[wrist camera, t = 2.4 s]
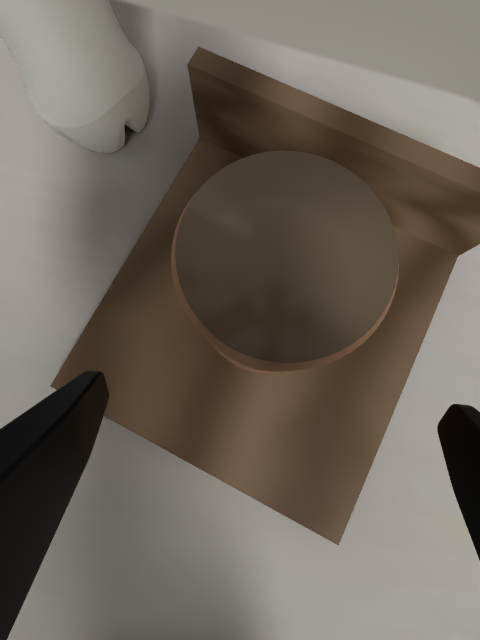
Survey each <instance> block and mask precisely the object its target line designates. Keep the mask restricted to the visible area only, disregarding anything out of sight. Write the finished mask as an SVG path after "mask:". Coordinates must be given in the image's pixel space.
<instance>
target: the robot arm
mask: <svg viewBox="0 0 480 640" xmlns="http://www.w3.org/2000/svg"><path fill="white" fill-rule="evenodd" d="M108 400H109V391H108V387H107V383H106V379H105V376H104V374H103V372H101V371H91V370H87V371H84V372H83V373H81V374H80V375H78V376H77V377H75V378H74V379H73V380H71V381H70V382H68V383H67V384H65V385H64V386H62V387H61V388H59V389H58V390H57V391H55V392H54V393H52V394H51V395H49V396H48V397H46V398H45V399H43V400H42V401H41V402H39V403H38V404H36V405H35V406H33V407H32V408H30V409H29V410H27V411H26V412H25V413H23V414H22V415H20V416H19V417H17V418H16V419H14V420H13V421H11V422H10V423H9V424H7V425H6V426H4V427H3V428H1V429H0V640H7V638H8V636H9V634H10V631H11V629H12V627H13V625H14V623H15V620H16V618H17V616H18V614H19V612H20V609H21V607H22V605H23V603H24V601H25V598H26V596H27V594H28V592H29V590H30V587H31V585H32V583H33V581H34V579H35V576H36V574H37V572H38V570H39V568H40V565H41V563H42V561H43V559H44V557H45V554H46V552H47V550H48V548H49V546H50V543H51V541H52V539H53V537H54V535H55V532H56V530H57V528H58V526H59V524H60V521H61V519H62V517H63V515H64V513H65V510H66V508H67V506H68V504H69V502H70V499H71V497H72V495H73V493H74V491H75V488H76V486H77V484H78V482H79V480H80V477H81V475H82V473H83V471H84V469H85V466H86V464H87V462H88V459H89V457H90V454H91V452H92V449H93V446H94V443H95V440H96V437H97V434H98V431H99V428H100V425H101V422H102V419H103V416H104V413H105V410H106V407H107V404H108ZM438 435H439V439H440V443H441V446H442V450H443V454H444V458H445V461H446V465H447V469H448V472H449V476H450V480H451V483H452V487H453V490H454V493H455V496H456V499H457V502H458V504H459V507H460V510H461V512H462V515H463V518H464V520H465V523H466V525H467V528H468V531H469V533H470V536H471V539H472V541H473V544H474V547H475V549H476V552H477V555H478V557H479V560H480V412H479V411H478V410H476V409H475V408H474V407H472V406H469V405H461V404H453V405H451V406H450V407H449V409H448V410H447V411H446V413H445V414H444V416H443V417H442V419H441V420H440V422H439V424H438Z"/></svg>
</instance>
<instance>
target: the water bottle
mask: <svg viewBox="0 0 480 640" xmlns="http://www.w3.org/2000/svg"><path fill="white" fill-rule="evenodd" d="M0 36H1V38H2V39H3V41H4V42H5V44H6V46H7V48H8V50H9V52H10V54H11V55H12V57H13V59H14V61H15V63H16V65H17V68H18V70H19V73H20V75H21V78H22V81H23V84H24V87H25V90H26V94H27V96H28V99H29V101H30V102H31V104H32V106H33V108H34V109H35V111H36V112H37V113H38V114H39V116H40V117H41V118H42V119H43V120H44V121H45V122H46V123H47V124H48V125H49V126H50V127H51V128H52V129H53V130H54V131H55V132H56V133H57V134H59V135H61V136H63V137H64V138H66V139H68V140H70V141H73V142H76V143H78V144H79V145H81V146H83V147H85V148H87V149H89V150H92V151H96V152H99V153H111V152H116V151H117V150H119V149H120V148H122V147H123V146H124V142H125V129H124V126H125V125H126V126H128V127H129V128H130V129H132V130H134V131H137V132H138V133H140V132H141V131H142V130H143V128H144V127H145V124H146V121H147V117H148V113H149V98H150V96H149V86H148V79H147V75H146V71H145V67H144V64H143V61H142V58H141V56H140V55H139V53H138V52H137V50H136V49H135V48H134V47H133V46H132V45H131V43H130V42H129V40H128V39H127V37H126V36H125V35H124V33H123V31H122V29H121V27H120V25H119V23H118V21H117V19H116V16H115V14H114V11H113V9H112V6H111V3H110V1H109V0H0Z"/></svg>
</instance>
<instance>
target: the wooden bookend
mask: <svg viewBox="0 0 480 640" xmlns="http://www.w3.org/2000/svg"><path fill="white" fill-rule="evenodd" d="M187 65H188V71H189V77H190V83H191V89H192V95H193V100H194V106H195V112H196V118H197V124H198V130H199V136H200V139H199V140H198V142H197V144H196V145H195V147H194V149H193V150H192V152H191V154H190V155H189V157H188V159H187V160H186V162H185V164H184V165H183V167H182V169H181V170H180V172H179V173H178V175H177V177H176V178H175V180H174V182H173V183H172V185H171V187H170V188H169V190H168V192H167V193H166V195H165V197H164V198H163V200H162V202H161V203H160V205H159V207H158V208H157V210H156V212H155V213H154V215H153V217H152V218H151V220H150V222H149V223H148V225H147V227H146V228H145V230H144V232H143V233H142V235H141V237H140V238H139V240H138V241H137V243H136V245H135V246H134V248H133V250H132V251H131V253H130V255H129V256H128V258H127V260H126V261H125V263H124V265H123V266H122V268H121V270H120V271H119V273H118V275H117V276H116V278H115V280H114V281H113V283H112V285H111V286H110V288H109V290H108V291H107V293H106V295H105V296H104V298H103V300H102V301H101V303H100V305H99V306H98V308H97V310H96V311H95V313H94V314H93V316H92V318H91V319H90V321H89V323H88V324H87V326H86V328H85V329H84V331H83V333H82V334H81V336H80V338H79V339H78V341H77V343H76V344H75V346H74V348H73V349H72V351H71V353H70V354H69V356H68V358H67V359H66V361H65V363H64V364H63V366H62V368H61V369H60V371H59V373H58V374H57V376H56V378H55V379H54V381H53V382H52V384H51V387H53V388H55V389H56V390H58V389H59V388H61V387H62V386H64V385H65V384H67V383H68V382H70V381H71V380H73V379H74V378H75V377H77V376H78V375H80V374H81V373H83V372H84V371H87V370H91V371H101V372H103V374H104V376H105V379H106V383H107V387H108V391H109V400H108V404H107V407H106V410H105V413H104V416H105V417H107V418H109V419H111V420H112V421H114V422H116V423H118V424H120V425H122V426H123V427H125V428H127V429H129V430H131V431H132V432H134V433H136V434H138V435H140V436H141V437H143V438H145V439H147V440H149V441H150V442H152V443H154V444H156V445H158V446H160V447H161V448H163V449H165V450H167V451H169V452H170V453H172V454H174V455H176V456H178V457H179V458H181V459H183V460H185V461H187V462H189V463H190V464H192V465H194V466H196V467H198V468H199V469H201V470H203V471H205V472H207V473H208V474H210V475H212V476H214V477H216V478H217V479H219V480H221V481H223V482H225V483H227V484H228V485H230V486H232V487H234V488H236V489H237V490H239V491H241V492H243V493H245V494H246V495H248V496H250V497H252V498H254V499H256V500H257V501H259V502H261V503H263V504H265V505H266V506H268V507H270V508H272V509H274V510H275V511H277V512H279V513H281V514H283V515H284V516H286V517H288V518H290V519H292V520H294V521H295V522H297V523H299V524H301V525H303V526H304V527H306V528H308V529H310V530H312V531H313V532H315V533H317V534H319V535H321V536H323V537H324V538H326V539H328V540H330V541H332V542H333V543H335V544H337V545H339V543H340V540H341V538H342V536H343V533H344V531H345V528H346V526H347V523H348V521H349V519H350V516H351V514H352V511H353V509H354V507H355V504H356V502H357V499H358V497H359V494H360V492H361V490H362V487H363V485H364V482H365V480H366V477H367V475H368V473H369V470H370V468H371V465H372V463H373V461H374V458H375V456H376V453H377V451H378V448H379V446H380V444H381V441H382V439H383V436H384V434H385V431H386V429H387V427H388V424H389V422H390V419H391V417H392V414H393V412H394V410H395V407H396V405H397V402H398V400H399V398H400V395H401V393H402V390H403V388H404V385H405V383H406V381H407V378H408V376H409V373H410V371H411V368H412V366H413V364H414V361H415V359H416V356H417V354H418V352H419V349H420V347H421V344H422V342H423V339H424V337H425V335H426V332H427V330H428V327H429V325H430V322H431V320H432V318H433V315H434V313H435V310H436V308H437V306H438V303H439V301H440V298H441V296H442V293H443V291H444V289H445V286H446V284H447V281H448V279H449V276H450V274H451V272H452V269H453V267H454V264H455V262H456V260H457V257H458V256H459V255H461V254H462V253H464V252H466V251H468V250H470V249H472V248H473V247H475V246H477V245H479V244H480V168H479V167H476V166H474V165H472V164H469V163H467V162H465V161H463V160H460V159H458V158H456V157H453V156H451V155H449V154H446V153H444V152H442V151H439V150H437V149H435V148H432V147H430V146H428V145H425V144H423V143H421V142H418V141H416V140H414V139H412V138H409V137H407V136H405V135H402V134H400V133H398V132H395V131H393V130H391V129H388V128H386V127H384V126H381V125H379V124H377V123H374V122H372V121H370V120H367V119H365V118H363V117H360V116H358V115H356V114H354V113H351V112H349V111H347V110H344V109H342V108H340V107H337V106H335V105H333V104H330V103H328V102H326V101H323V100H321V99H319V98H316V97H314V96H312V95H309V94H307V93H305V92H303V91H300V90H298V89H296V88H293V87H291V86H289V85H286V84H284V83H282V82H279V81H277V80H275V79H272V78H270V77H268V76H265V75H263V74H261V73H258V72H256V71H254V70H251V69H249V68H247V67H245V66H242V65H240V64H238V63H235V62H233V61H231V60H228V59H226V58H224V57H221V56H219V55H217V54H214V53H212V52H210V51H207V50H205V49H203V48H200V47H198V49H197V50H196V52H195V53H194V55H193V56H192V58H191V60H190V61H189V63H188V64H187ZM271 151H297V152H305V153H310V154H314V155H318V156H321V157H324V158H326V159H329V160H332V161H334V162H336V163H338V164H340V165H341V166H343V167H345V168H347V169H348V170H350V171H351V172H353V173H354V174H355V175H357V176H358V177H359V178H360V179H361V180H363V181H364V182H365V183H366V184H367V185H368V186H369V187H370V188H371V189H372V191H373V192H374V193H375V194H376V195H377V197H378V198H379V200H380V201H381V202H382V204H383V205H384V207H385V209H386V211H387V213H388V215H389V217H390V219H391V222H392V225H393V227H394V230H395V234H396V239H397V243H398V254H399V272H398V282H397V286H396V291H395V295H394V297H393V300H392V303H391V306H390V308H389V310H388V312H387V314H386V315H385V317H384V319H383V321H382V322H381V323H380V325H379V326H378V328H377V329H376V330H375V332H374V333H373V334H372V335H371V336H370V337H369V338H368V339H367V340H366V341H365V342H364V343H363V344H361V345H360V346H359V347H357V348H356V349H355V350H354V351H352V352H351V353H349V354H347V355H345V356H344V357H342V358H340V359H338V360H336V361H333V362H331V363H328V364H326V365H323V366H319V367H315V368H311V369H304V370H296V371H286V372H275V373H252V372H248V371H244V370H242V369H239V368H237V367H235V366H234V365H232V364H230V363H229V362H228V361H227V360H225V359H224V358H223V357H222V356H221V355H220V353H219V352H218V351H217V350H216V349H215V348H214V347H213V346H212V345H211V344H210V343H209V342H208V341H207V340H206V338H205V337H204V336H203V335H202V334H201V333H200V332H199V331H198V330H197V329H196V328H195V326H194V325H193V323H192V322H191V321H190V319H189V318H188V317H187V315H186V313H185V311H184V309H183V307H182V305H181V304H180V301H179V298H178V296H177V293H176V290H175V286H174V282H173V277H172V269H171V250H172V243H173V238H174V233H175V230H176V227H177V224H178V221H179V219H180V217H181V215H182V213H183V211H184V209H185V207H186V206H187V204H188V203H189V201H190V200H191V198H192V197H193V196H194V195H195V193H196V192H197V191H198V190H199V189H200V188H201V186H202V185H203V184H204V183H205V182H206V181H207V180H208V179H210V178H211V177H212V176H213V175H214V174H215V173H217V172H218V171H220V170H221V169H223V168H224V167H226V166H227V165H229V164H231V163H233V162H235V161H237V160H240V159H242V158H245V157H248V156H251V155H255V154H259V153H263V152H271Z"/></svg>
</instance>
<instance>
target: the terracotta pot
mask: <svg viewBox="0 0 480 640" xmlns="http://www.w3.org/2000/svg"><path fill="white" fill-rule="evenodd" d="M171 269H172V277H173V282H174V286H175V290H176V293H177V296H178V298H179V301H180V304H181V305H182V307H183V309H184V311H185V313H186V315H187V317H188V318H189V319H190V321H191V322H192V323H193V325H194V326H195V328H196V329H197V330H198V331H199V332H200V333H201V334H202V335H203V336H204V337H205V338H206V340H207V341H208V342H209V343H210V344H211V345H212V346H213V347H214V348H215V349H216V350H217V351H218V352H219V353H220V355H221V356H222V357H223V358H224V359H225V360H227V361H228V362H229V363H230V364H232V365H234V366H235V367H237V368H239V369H242V370H244V371H248V372H252V373H275V372H286V371H296V370H304V369H311V368H315V367H319V366H323V365H326V364H328V363H331V362H333V361H336V360H338V359H340V358H342V357H344V356H345V355H347V354H349V353H351V352H352V351H354V350H355V349H356V348H357V347H359V346H360V345H361V344H363V343H364V342H365V341H366V340H367V339H368V338H369V337H370V336H371V335H372V334H373V333H374V332H375V330H376V329H377V328H378V326H379V325H380V323H381V322H382V321H383V319H384V317H385V315H386V314H387V312H388V310H389V308H390V306H391V303H392V300H393V297H394V295H395V291H396V286H397V282H398V272H399V254H398V243H397V239H396V234H395V230H394V227H393V225H392V222H391V219H390V217H389V215H388V213H387V211H386V209H385V207H384V205H383V204H382V202H381V201H380V200H379V198H378V197H377V195H376V194H375V193H374V192H373V191H372V189H371V188H370V187H369V186H368V185H367V184H366V183H365V182H364V181H363V180H361V179H360V178H359V177H358V176H357V175H355V174H354V173H353V172H351V171H350V170H348V169H347V168H345V167H343V166H341V165H340V164H338V163H336V162H334V161H332V160H329V159H326V158H324V157H321V156H318V155H314V154H310V153H305V152H297V151H271V152H263V153H259V154H255V155H251V156H248V157H245V158H242V159H240V160H237V161H235V162H233V163H231V164H229V165H227V166H226V167H224V168H223V169H221V170H220V171H218V172H217V173H215V174H214V175H213V176H212V177H211V178H210V179H208V180H207V181H206V182H205V183H204V184H203V185H202V186H201V188H200V189H199V190H198V191H197V192H196V193H195V195H194V196H193V197H192V198H191V200H190V201H189V203H188V204H187V206H186V207H185V209H184V211H183V213H182V215H181V217H180V219H179V221H178V224H177V227H176V230H175V233H174V238H173V243H172V250H171Z"/></svg>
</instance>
